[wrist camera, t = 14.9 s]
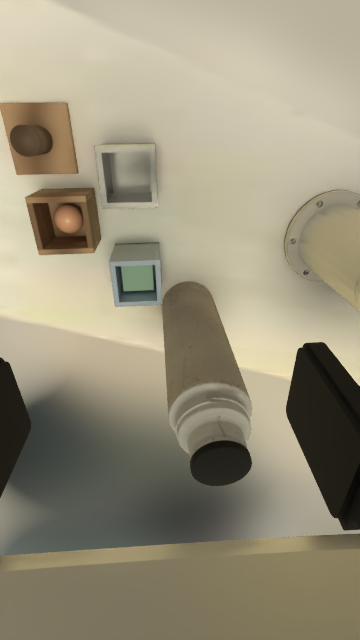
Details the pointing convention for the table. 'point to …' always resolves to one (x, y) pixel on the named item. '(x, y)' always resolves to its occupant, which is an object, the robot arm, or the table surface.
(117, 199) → the grey open storage bin
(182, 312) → the thermos bottle
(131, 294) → the square blue-grey bin
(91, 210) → the oak box
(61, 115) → the lid
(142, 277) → the green cube
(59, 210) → the terracotta ball
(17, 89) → the table surface
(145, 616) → the robot arm
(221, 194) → the table surface
